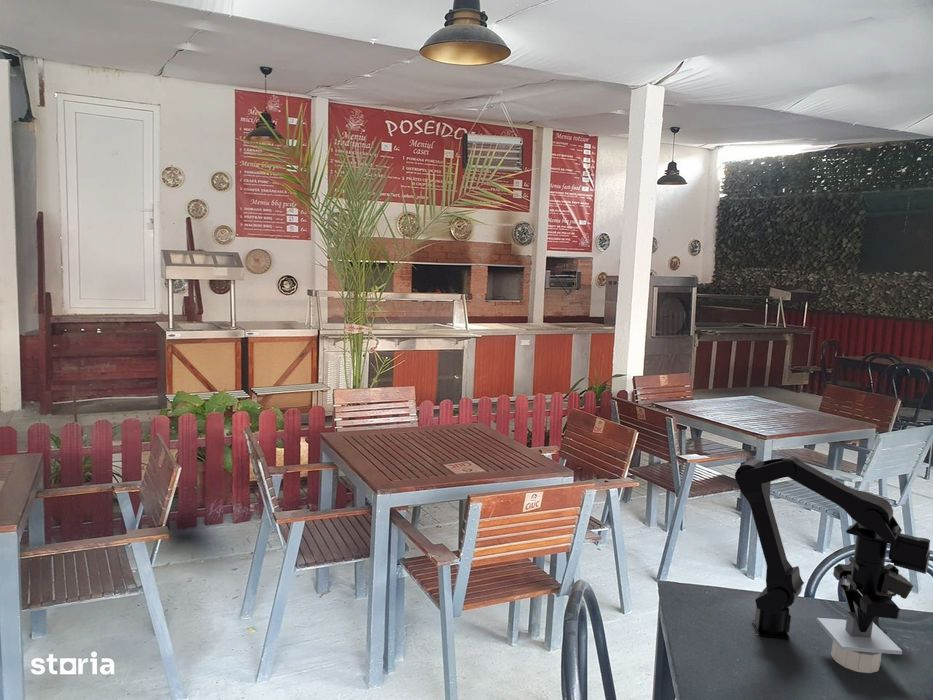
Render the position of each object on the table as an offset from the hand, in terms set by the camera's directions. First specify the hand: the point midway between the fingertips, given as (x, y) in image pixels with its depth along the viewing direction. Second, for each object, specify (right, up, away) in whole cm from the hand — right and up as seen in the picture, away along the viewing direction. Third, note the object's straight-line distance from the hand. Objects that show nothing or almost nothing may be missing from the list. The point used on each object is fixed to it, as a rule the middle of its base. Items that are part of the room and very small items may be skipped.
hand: (859, 627), depth 155 cm
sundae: (+11, -6, +15) cm, 20 cm away
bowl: (0, -7, +1) cm, 8 cm away
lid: (0, -2, 0) cm, 2 cm away
